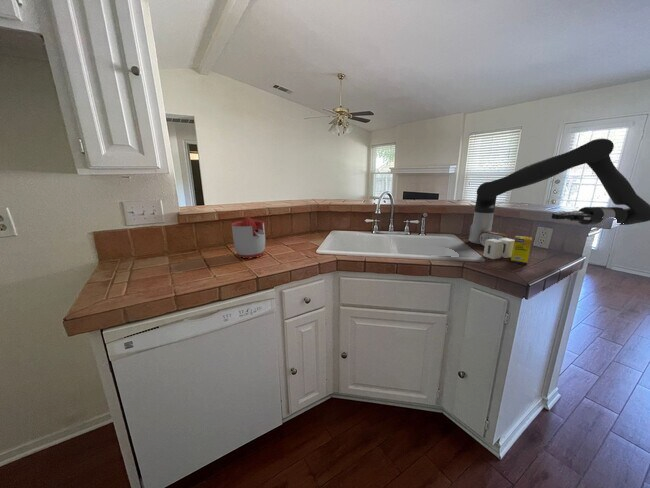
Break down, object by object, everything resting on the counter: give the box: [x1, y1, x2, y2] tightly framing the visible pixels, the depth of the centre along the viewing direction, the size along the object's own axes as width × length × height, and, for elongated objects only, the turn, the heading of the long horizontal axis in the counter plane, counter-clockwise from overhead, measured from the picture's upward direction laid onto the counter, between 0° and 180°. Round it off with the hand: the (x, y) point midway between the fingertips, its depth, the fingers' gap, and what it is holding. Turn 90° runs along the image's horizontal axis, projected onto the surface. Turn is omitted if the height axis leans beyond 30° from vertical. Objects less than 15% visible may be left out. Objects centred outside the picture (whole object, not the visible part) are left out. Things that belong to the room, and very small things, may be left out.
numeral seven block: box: [498, 238, 515, 259], centre depth 120 cm, size 5×5×8 cm
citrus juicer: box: [230, 215, 266, 258], centre depth 125 cm, size 16×17×20 cm
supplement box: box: [510, 235, 533, 265], centre depth 112 cm, size 6×6×11 cm
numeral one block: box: [482, 239, 504, 260], centre depth 119 cm, size 5×5×8 cm
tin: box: [478, 230, 511, 247], centre depth 133 cm, size 15×3×8 cm, turn 32°
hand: (553, 216), depth 108 cm, fingers closed
